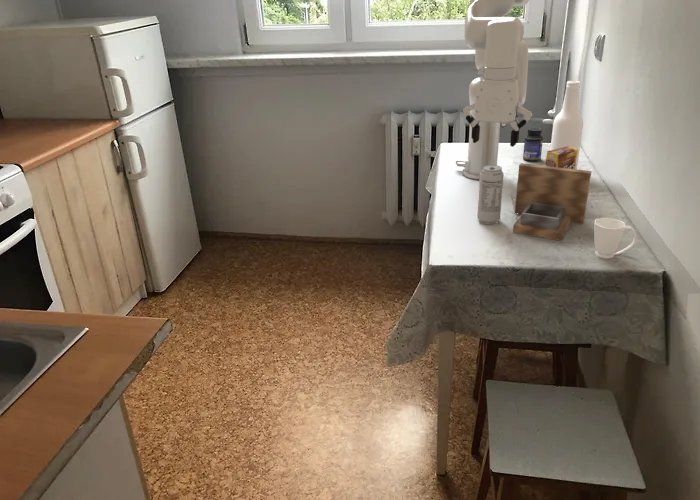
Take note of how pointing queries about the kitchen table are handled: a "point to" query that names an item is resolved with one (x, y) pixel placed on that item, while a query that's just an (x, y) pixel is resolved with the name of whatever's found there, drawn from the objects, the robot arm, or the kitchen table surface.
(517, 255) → the kitchen table surface
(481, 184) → the energy drink can
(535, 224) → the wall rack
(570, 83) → the alcohol
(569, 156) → the candy box
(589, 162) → the kitchen table surface
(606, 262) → the kitchen table surface
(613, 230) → the cup
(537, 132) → the pill bottle
